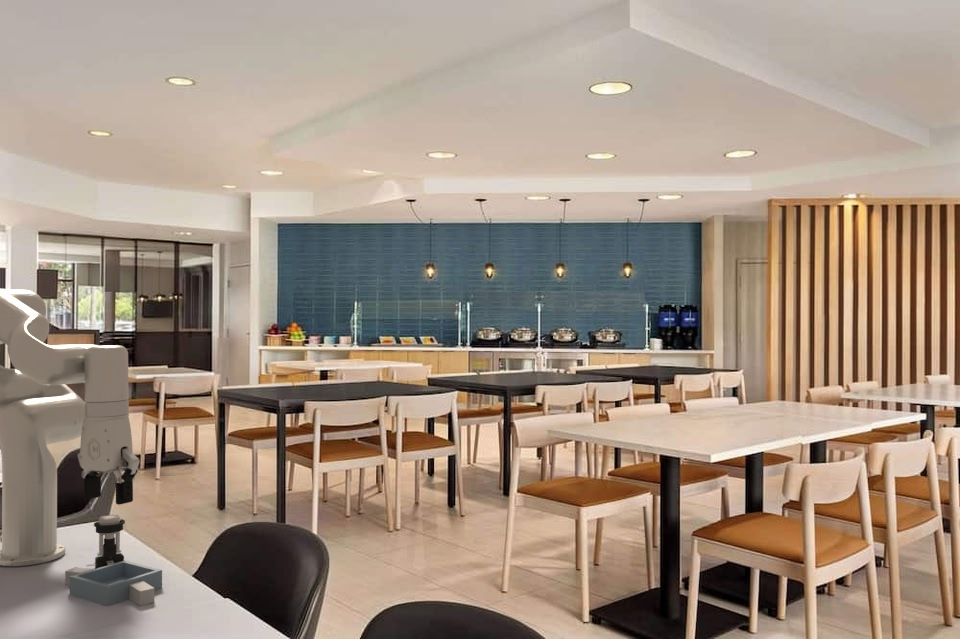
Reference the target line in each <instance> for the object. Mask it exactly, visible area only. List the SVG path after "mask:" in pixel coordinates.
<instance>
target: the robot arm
mask: <svg viewBox="0 0 960 639" xmlns="http://www.w3.org/2000/svg"><path fill="white" fill-rule="evenodd" d="M46 315H47V307H46V303H45V301H44V299H42V297H41V296H40V295H39V294H38V293H36V292H34V291H32V290H28V289H14V288H13V289H11V288H0V345H3V344H5V345H6V346H7V355H8V358H9V359H10V363H11V365H12V366H13V367H14V368H9V367H5V366H3V365H1V364H0V454H1V476H2V477H1V484H2V488H1V490H2V493H1V494H2V495H1V500H2V501H1V503H2V504H1V535H0V543H1V549H0V566H2V567H3V566H4V567H24V566H32V565H33V566H34V565H38V564H44V563H47V562H51V561H53V560H56V559H59V558H61V557H63V556H64V555H65V554H66V546H65V545H63V544H61V543H58V542H57V541H58V537H57V536H58V535H57V534H58V533H57V532H58V525H57V524H58V467H57V462H56V460H55V458H54V456H53V454H52V453H51V452H50V450H49V449H48V446H47V445H51V444H55V443H56V444H57V443H62V442H69V441H73V440H75V439H76V440H77V439H79V438H80V448H79V452H78V453H77V455H76V456H77V458H78V463H79V468H80V471H81V477H82V479H83V499H84V500H90V499H94V498H100V497H101V496H102V478H101V475H100V473H105V474H106V473H107V474H108V473H112V472H113V474H114V476H115V478H116V480H117V482H116V483H115V504H116V505H118V506H119V505H123V504H124V505H125V504H128V503H132V502H133V501H134V487H133V486H134V485H133V484H134V481H135V480H136V475H137V473H138V469H139V468H138V467H139V465H140V458H139V457H137V455H135V454H134V453H133V451H134V450H133V437H132V428H131V422H130V414H129V413H130V407H129V406H130V404H129V402H130V401H129V398H130V397H129V352H128V349H127V348H126V347H125V346H123V345H118V344H116V345H112V344H111V345H109V344H107V345H98V344H91V343H90V344H89V343H86V344H85V343H84V344H74V343H73V344H52V345H50V344H48V343H47V344H46V343H45V342H46V339H47V338H48V336H49V333H50V322H49V321H48V319H47V318H46V317H47V316H46ZM83 383H84V400H83V398H81V397H80V396H79V395H78V394H77V393H76V392H75V391H74V390H72V389H71V387H69V386H68V385H70V384H83Z"/></svg>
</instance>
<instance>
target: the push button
mask: <svg viewBox="0 0 960 639" xmlns="http://www.w3.org/2000/svg"><path fill="white" fill-rule="evenodd" d="M125 524H126V521H125V520H124V519H122V518H121V516H120V515H119V514H108V515H106V514H105V515H102V516H100V517H99V518H98V520H97V521H96V522H95V521H94V523H93V527H95V533H97V534H98V552H97V553H96V556H95V557H94V563H90V564H85V566H86V567H92V566H94V567H93V568H92V569H97V568H100V567H104V566H107V565H111V564H114V563H118V562H121V561H124V560H125V556H124V554H123V553H122V550H121V549H120V546H121V544H120V541H121V540H120V539H121V538H120V537H121V531H123V530H124V525H125Z"/></svg>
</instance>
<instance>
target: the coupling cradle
mask: <svg viewBox="0 0 960 639" xmlns="http://www.w3.org/2000/svg"><path fill="white" fill-rule="evenodd" d="M64 584H65V585H68V586H69V595H70V596H74V597H77V598H80V599H84V600H86V601H90V602H93V603H97V604H100V605H102V606H106V607H108V606H112V605H115V604H116V603H120V602H123V601H126V600H130V601H132V602H134V603H135V604H136V605H138V606H140V607H141V606H145V605H148V604H152V603H155V591H156V590H158V589H162V588H163V570H162V569H160V568H156V567H153V566H147V565H144V564H140V563H135V562H133V561H132V562H131V561H130V560H125V559H124V561H121V562H118V563H114V564H111V565H107V566H104V567H100V568H97V569H93V568H88V567H87V568H86V567H80V566H79V567H78V566H74V567H73V568H70V569H67V570H65V571H64Z"/></svg>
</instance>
